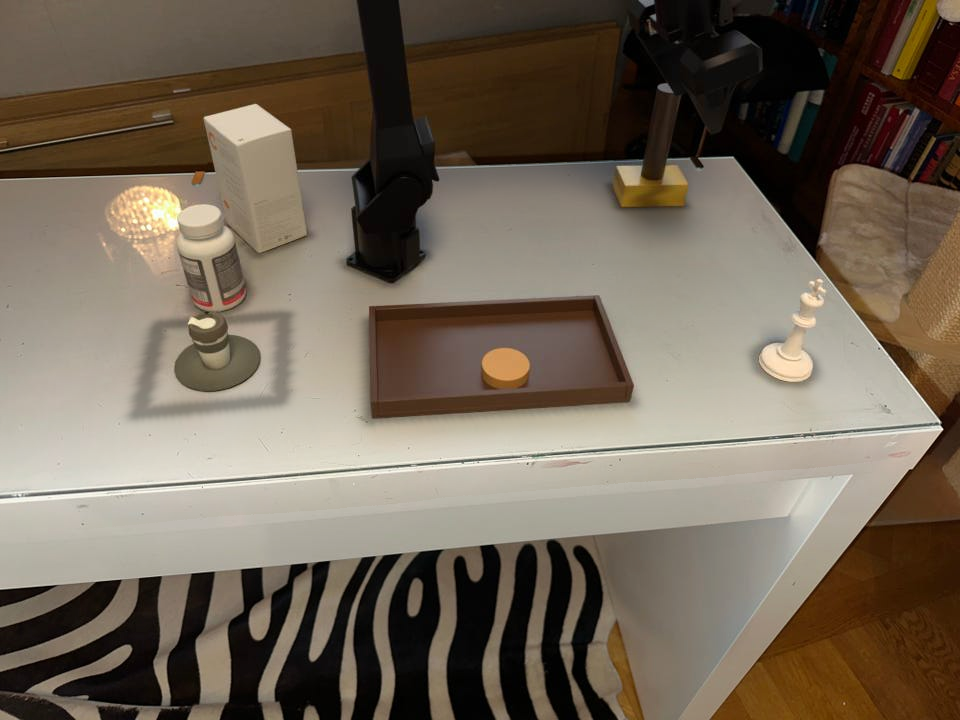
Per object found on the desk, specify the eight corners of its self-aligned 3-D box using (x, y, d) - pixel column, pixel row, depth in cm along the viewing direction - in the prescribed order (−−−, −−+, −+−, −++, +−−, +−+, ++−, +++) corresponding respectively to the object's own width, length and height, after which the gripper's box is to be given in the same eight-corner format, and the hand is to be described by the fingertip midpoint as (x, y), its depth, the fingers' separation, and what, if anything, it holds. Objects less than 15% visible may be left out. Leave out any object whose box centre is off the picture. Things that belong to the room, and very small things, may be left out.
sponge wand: (621, 207, 93) (641, 97, 84) (612, 186, 97) (630, 79, 87) (683, 206, 94) (710, 96, 84) (672, 185, 97) (697, 79, 88)
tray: (372, 418, 65) (370, 401, 64) (370, 322, 75) (368, 305, 74) (630, 402, 68) (634, 385, 67) (596, 310, 78) (599, 294, 76)
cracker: (472, 377, 69) (472, 368, 68) (497, 351, 72) (497, 341, 71) (513, 396, 67) (514, 387, 66) (537, 368, 70) (538, 359, 69)
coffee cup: (280, 400, 67) (272, 359, 63) (139, 413, 65) (122, 372, 62) (284, 315, 75) (276, 275, 72) (159, 325, 74) (145, 284, 70)
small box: (308, 236, 86) (293, 128, 77) (258, 255, 83) (235, 145, 74) (274, 206, 91) (256, 101, 82) (225, 223, 87) (200, 116, 79)
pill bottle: (243, 277, 80) (225, 196, 73) (250, 307, 76) (231, 225, 70) (190, 287, 78) (167, 204, 72) (194, 318, 75) (170, 234, 68)
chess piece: (784, 388, 70) (821, 304, 63) (747, 356, 73) (778, 272, 66) (822, 372, 72) (862, 289, 65) (785, 342, 75) (819, 259, 68)
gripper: (822, -48, 60) (818, 124, 71) (723, -100, 73) (732, 51, 84) (689, 4, 61) (705, 166, 72) (615, -58, 74) (638, 87, 85)
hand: (697, 112), depth 78 cm, fingers open, 9 cm apart
